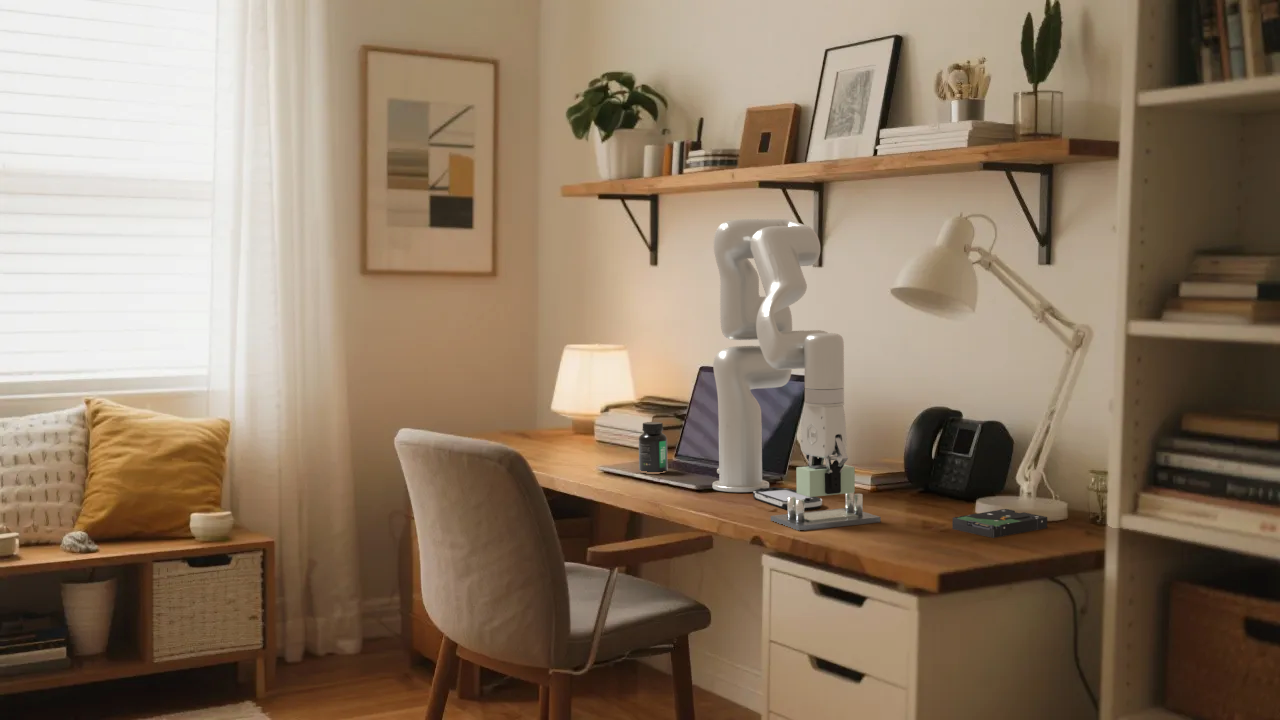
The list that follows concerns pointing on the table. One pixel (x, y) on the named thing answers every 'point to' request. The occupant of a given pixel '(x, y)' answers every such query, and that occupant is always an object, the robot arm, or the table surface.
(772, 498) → the gaming console
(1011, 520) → the disk drive
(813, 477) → the block
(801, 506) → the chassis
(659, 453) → the supplement bottle
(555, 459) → the table surface
